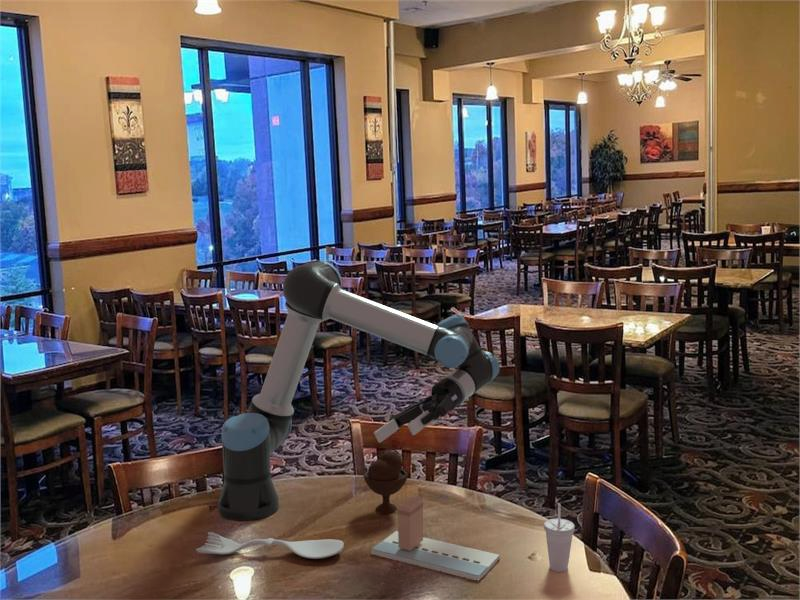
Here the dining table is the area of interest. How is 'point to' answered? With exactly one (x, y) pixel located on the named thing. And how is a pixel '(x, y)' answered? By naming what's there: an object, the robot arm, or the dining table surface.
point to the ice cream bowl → (386, 479)
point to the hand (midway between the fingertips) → (393, 433)
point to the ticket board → (439, 557)
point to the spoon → (301, 548)
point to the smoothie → (559, 541)
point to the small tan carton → (410, 522)
